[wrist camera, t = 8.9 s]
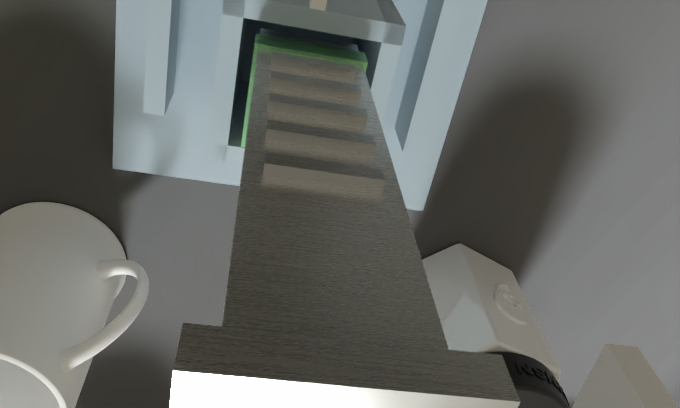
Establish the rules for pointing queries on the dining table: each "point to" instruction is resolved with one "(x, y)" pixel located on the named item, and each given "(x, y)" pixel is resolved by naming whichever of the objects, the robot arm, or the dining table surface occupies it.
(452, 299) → the jar
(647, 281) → the dining table surface
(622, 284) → the dining table surface
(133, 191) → the dining table surface
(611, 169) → the dining table surface
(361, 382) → the column
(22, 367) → the mug
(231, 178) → the stand base
